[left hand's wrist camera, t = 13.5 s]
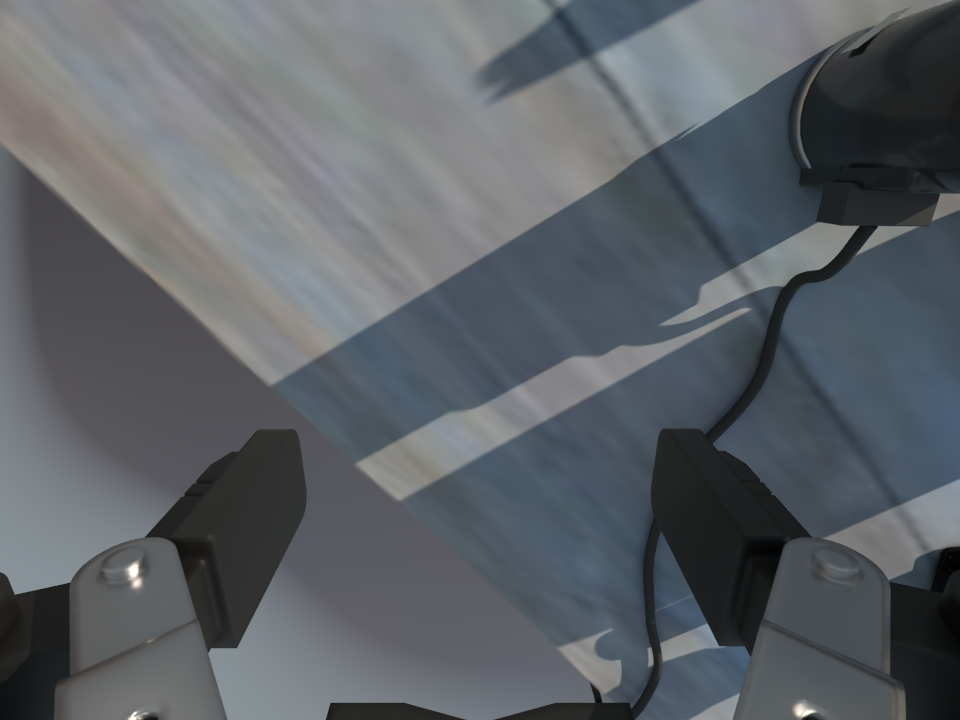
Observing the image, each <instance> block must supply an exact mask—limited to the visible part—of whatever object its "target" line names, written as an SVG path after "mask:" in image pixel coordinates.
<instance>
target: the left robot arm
mask: <svg viewBox="0 0 960 720" xmlns="http://www.w3.org/2000/svg"><path fill="white" fill-rule="evenodd" d="M908 9H909V8H907V9H904V10H901V11H899V12H896V13H893V14H891V15H890V16H888V17H887V18H886V19H884V20H883V21H882V22H880V23H879V24H878V25H877V26H873V27H870V28H867V29H864V30H861V31H859V32H856V33H853V34H851V35H849V36H847V37H845V38H844V39H842V40H840V41H839V42H837V43H836V44H834V45H833V46H832V47H831V48H829V49H828V50H827V51H826V52H825V53H824V54H823V55H822V56H821V57H820V58H819V59H818V60H817V61H816V62H815V63H814V64H813V66H812V67H811V68H810V70H809V71H808V73H807V74H806V76H805V77H804V79H803V81H802V83H801V85H800V86H799V89H798V91H797V93H796V96H795V99H794V102H793V105H792V109H791V115H790V123H789V135H790V142H791V147H792V150H793V153H794V156H795V158H796V160H797V162H798V163H799V165H800V166H801V168H802V170H801V178H800V185H801V186H806V187H822V188H824V190H823V195H822V199H821V203H820V207H819V211H818V216H817V220H816V221H817V222H823V223H829V224H835V225H841V226H859V228H858V229H857V230H856V231H855V233H854V234H853V235H852V237H851V238H850V239H849V241H848V242H847V244H846V245H845V246H844V248H843V249H842V250H841V251H840V253H839V254H838V255H837V256H836V257H835V258H834V259H833V260H832V261H831V262H830V263H829V264H828V265H826V266H825V267H824V268H822V269H820V270H814V271H807V272H803V273H800V274H798V275H796V276H794V277H793V278H792V279H791V280H790V281H789V282H788V283H787V285H786V286H785V287H784V288H783V290H782V291H781V293H780V295H779V297H778V299H777V302H776V304H775V307H774V310H773V313H772V317H771V320H770V323H769V327H768V331H767V335H766V339H765V343H764V348H763V352H762V356H761V359H760V363H759V366H758V368H757V371H756V373H755V375H754V377H753V379H752V381H751V383H750V384H749V386H748V387H747V389H746V391H745V392H744V393H743V395H742V396H741V397H740V399H739V400H738V401H737V402H736V404H735V405H734V406H733V407H732V408H731V409H730V410H729V412H728V413H727V414H726V415H725V416H724V417H723V418H722V419H721V420H720V421H719V422H718V423H717V424H716V425H715V426H714V427H713V428H712V429H711V430H710V431H709V432H708V433H707V434H706V435H704V434H703V433H702V431H701V430H699V429H662V430H661V432H660V434H659V437H658V443H657V450H656V457H655V464H654V472H653V479H652V486H651V504H652V510H653V513H654V516H655V517H654V520H653V523H652V526H651V530H650V534H649V538H648V542H647V546H646V552H645V559H644V595H645V610H646V624H647V630H648V635H649V639H650V643H651V647H652V651H653V657H654V667H653V671H652V674H651V677H650V680H649V682H648V684H647V686H646V688H645V690H644V692H643V693H642V695H641V697H640V698H639V700H638V701H637V703H636V704H635V705H634V707H633V708H632V709H631V707H630V703H602V698H601V694H600V691H599V689H598V688H597V687H596V686H594V685H593V684H592V683H591V682H590V681H589V682H590V685H591V688H592V692H593V695H594V700H595V703H554V704H550V705H546V706H543V707H539V708H536V709H532V710H528V711H525V712H521V713H517V714H514V715H510V716H506V717H503V718H499V719H495V720H635V719H636V718H637V717H638V716H639V715H640V714H641V712H642V711H643V710H644V708H645V707H646V705H647V704H648V702H649V700H650V699H651V697H652V695H653V693H654V691H655V689H656V687H657V685H658V683H659V680H660V677H661V672H662V652H661V647H660V643H659V639H658V635H657V630H656V624H655V607H654V590H653V563H654V556H655V551H656V546H657V542H658V538H659V535H660V531H662V533H663V535H664V537H665V539H666V541H667V543H668V545H669V547H670V549H671V551H672V553H673V555H674V557H675V559H676V561H677V563H678V565H679V567H680V569H681V571H682V573H683V575H684V577H685V579H686V581H687V583H688V585H689V587H690V589H691V591H692V593H693V595H694V597H695V599H696V601H697V603H698V605H699V607H700V609H701V611H702V613H703V615H704V617H705V619H706V621H707V623H708V625H709V627H710V629H711V631H712V633H713V635H714V637H715V639H716V641H717V643H718V645H719V646H745V647H746V649H747V651H748V653H749V655H750V656H751V658H750V662H749V665H748V669H747V672H746V676H745V679H744V682H743V686H742V689H741V693H740V696H739V700H738V703H737V706H736V710H735V713H734V717H733V720H960V570H958V571H955V572H953V573H952V574H951V575H950V578H949V580H948V583H947V585H946V587H945V590H944V592H943V593H938V592H933V591H929V590H924V589H920V588H915V587H910V586H906V585H901V584H897V583H892V582H889V581H888V579H887V577H886V576H885V574H884V573H883V571H882V570H881V569H880V568H879V567H878V566H877V565H876V564H874V563H873V562H872V561H871V560H869V559H868V558H866V557H865V556H864V555H862V554H860V553H858V552H857V551H855V550H853V549H851V548H849V547H847V546H844V545H841V544H839V543H836V542H833V541H829V540H825V539H821V538H813V537H811V536H810V534H809V533H808V532H807V531H806V530H805V529H804V528H803V527H802V526H801V524H800V523H799V522H798V521H797V520H796V519H795V518H794V517H793V516H792V514H791V513H790V512H789V511H788V510H787V509H786V508H785V507H784V506H783V504H782V503H781V502H780V501H779V500H778V499H777V498H776V497H775V496H772V494H771V493H772V492H771V491H770V490H769V489H768V488H767V487H766V486H765V484H764V483H763V482H760V479H759V478H758V477H757V476H756V474H755V473H754V472H753V471H752V470H751V469H750V468H749V467H748V466H747V464H745V463H744V462H742V461H740V460H739V459H737V458H735V457H734V456H732V455H731V454H729V453H727V452H726V451H718V450H717V449H716V448H715V447H714V446H713V443H714V442H715V441H716V440H717V439H718V438H719V437H720V436H721V435H722V434H723V433H724V432H725V431H726V430H727V429H728V428H729V427H730V426H731V425H732V424H733V423H734V422H735V421H736V420H737V419H738V417H739V416H740V415H741V414H742V413H743V412H744V411H745V410H746V408H747V407H748V406H749V405H750V403H751V402H752V401H753V399H754V398H755V397H756V395H757V394H758V392H759V390H760V389H761V387H762V385H763V384H764V382H765V380H766V378H767V376H768V373H769V371H770V368H771V365H772V362H773V358H774V354H775V350H776V346H777V341H778V336H779V331H780V327H781V323H782V319H783V316H784V313H785V310H786V308H787V306H788V304H789V302H790V300H791V299H792V297H793V296H794V294H795V293H796V292H797V291H798V289H799V288H800V287H801V286H802V285H803V284H805V283H814V282H821V281H824V280H827V279H829V278H831V277H833V276H834V275H836V274H837V273H838V272H839V271H841V270H842V269H843V268H844V267H845V266H846V265H847V264H848V263H849V262H850V261H851V260H852V259H853V258H854V256H855V255H856V254H857V253H858V251H859V250H860V249H861V247H862V246H863V245H864V243H865V242H866V241H867V239H868V238H869V237H870V236H871V235H872V233H873V232H874V231H875V230H876V229H877V228H878V226H930V224H931V221H932V218H933V215H934V212H935V208H936V205H937V202H938V199H939V196H940V194H941V193H955V194H960V0H953V1H950V2H947V3H944V4H941V5H938V6H935V7H932V8H930V9H927V10H924V11H921V12H918V13H915V14H912V15H909V16H907V17H904V18H901V19H898V20H896V21H893V20H895V19H896V18H897V17H899V16H900V15H901V14H903V13H904V12H905V11H907V10H908ZM892 21H893V22H892ZM306 497H307V494H306V484H305V477H304V470H303V463H302V456H301V449H300V442H299V437H298V434H297V432H296V431H295V430H293V429H260V430H258V431H256V432H255V433H254V434H253V436H252V437H251V438H250V439H249V440H248V442H247V443H246V444H245V445H244V446H243V447H242V449H241V450H240V451H239V452H231V453H229V454H228V455H226V456H224V457H223V458H221V459H220V460H218V461H216V462H215V463H213V464H211V465H210V466H209V467H208V468H207V469H206V471H205V472H204V473H203V474H202V475H201V476H200V477H199V478H198V479H197V482H196V484H193V485H192V486H191V487H190V488H189V489H188V490H187V491H186V493H185V496H184V497H181V498H180V499H179V500H178V501H177V503H176V504H175V505H174V506H173V507H172V508H171V509H170V510H169V511H168V512H167V513H166V515H165V516H164V517H163V518H162V519H161V520H160V521H159V522H158V523H157V524H156V526H155V527H154V528H153V529H152V530H151V531H150V532H149V533H148V534H147V536H146V537H145V538H140V539H135V540H131V541H127V542H124V543H121V544H119V545H116V546H113V547H111V548H109V549H107V550H105V551H103V552H102V553H100V554H98V555H96V556H95V557H94V558H92V559H91V560H89V561H88V562H87V563H86V564H84V565H83V566H82V567H81V568H80V569H79V570H78V571H77V573H76V574H75V576H74V577H73V579H72V581H71V583H67V584H63V585H58V586H53V587H49V588H44V589H39V590H35V591H31V592H26V593H21V594H17V595H15V594H14V592H13V589H12V587H11V585H10V582H9V580H8V577H7V576H6V575H5V574H3V573H1V572H0V720H227V717H226V713H225V710H224V706H223V703H222V700H221V696H220V693H219V689H218V686H217V682H216V679H215V676H214V672H213V669H212V665H211V662H210V658H209V655H208V653H209V651H210V649H211V648H237V647H238V645H239V643H240V641H241V639H242V637H243V635H244V633H245V631H246V629H247V627H248V625H249V623H250V621H251V619H252V617H253V615H254V613H255V611H256V609H257V607H258V605H259V603H260V601H261V599H262V597H263V595H264V594H265V592H266V589H267V588H268V586H269V584H270V581H271V580H272V578H273V576H274V574H275V572H276V570H277V568H278V566H279V564H280V562H281V560H282V558H283V556H284V554H285V552H286V550H287V548H288V546H289V544H290V542H291V540H292V538H293V536H294V534H295V532H296V530H297V528H298V526H299V524H300V522H301V521H302V518H303V515H304V512H305V507H306ZM326 720H465V719H461V718H457V717H454V716H450V715H446V714H443V713H439V712H435V711H432V710H428V709H424V708H421V707H417V706H414V705H410V704H406V703H331V704H330V707H329V710H328V714H327V718H326Z"/></svg>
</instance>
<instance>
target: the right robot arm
mask: <svg viewBox="0 0 960 720" xmlns="http://www.w3.org/2000/svg"><path fill="white" fill-rule="evenodd" d="M958 570H960V547H949V548H946V549H944V550H943V552H942V555H941V558H940V562H939V565H938V569H937V572H936V576H935V579H934V583H933V586H932V590H931V591H933V592H938V593H943V592H944V590H945V587H946V585H947V583H948V580H949V578H950V575H951V574H952V573H953V572H955V571H958Z"/></svg>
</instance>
